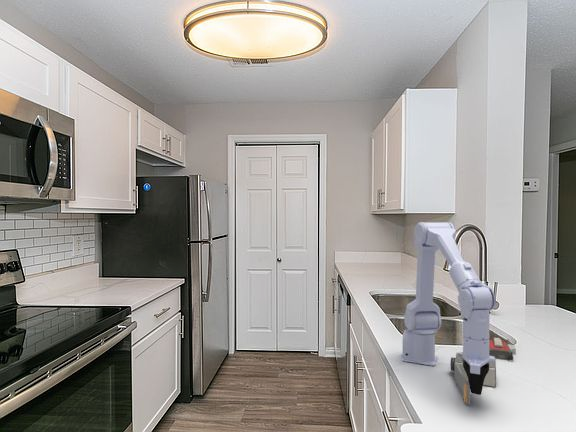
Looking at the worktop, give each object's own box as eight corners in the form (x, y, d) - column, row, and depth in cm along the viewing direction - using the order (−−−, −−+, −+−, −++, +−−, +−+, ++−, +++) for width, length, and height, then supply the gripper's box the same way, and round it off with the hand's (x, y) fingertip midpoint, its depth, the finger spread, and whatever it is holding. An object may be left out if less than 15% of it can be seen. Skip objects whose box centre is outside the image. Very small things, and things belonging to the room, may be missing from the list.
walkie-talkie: (520, 364, 119) (510, 344, 138) (520, 349, 119) (510, 332, 138) (488, 360, 122) (483, 341, 141) (488, 346, 123) (483, 329, 141)
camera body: (449, 379, 107) (449, 359, 107) (452, 369, 114) (452, 350, 114) (496, 387, 102) (496, 366, 102) (495, 376, 109) (495, 356, 109)
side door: (452, 379, 106) (452, 362, 106) (457, 380, 106) (457, 363, 106) (464, 404, 92) (464, 384, 92) (470, 404, 92) (470, 385, 92)
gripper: (495, 348, 85) (495, 410, 85) (494, 331, 98) (494, 385, 98) (460, 343, 88) (460, 403, 88) (463, 327, 101) (463, 379, 101)
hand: (475, 393), depth 93 cm, fingers closed
